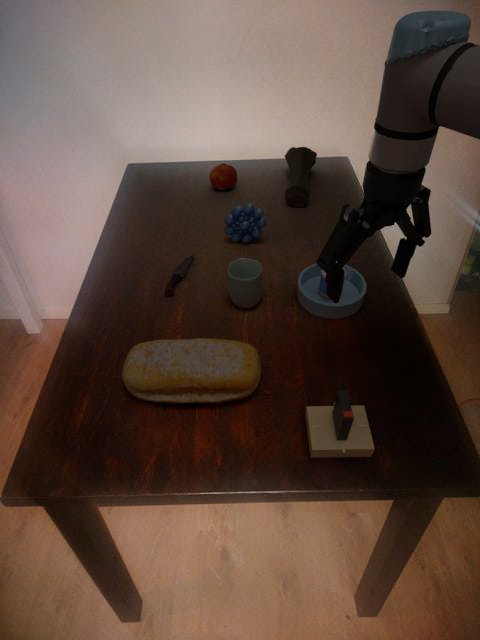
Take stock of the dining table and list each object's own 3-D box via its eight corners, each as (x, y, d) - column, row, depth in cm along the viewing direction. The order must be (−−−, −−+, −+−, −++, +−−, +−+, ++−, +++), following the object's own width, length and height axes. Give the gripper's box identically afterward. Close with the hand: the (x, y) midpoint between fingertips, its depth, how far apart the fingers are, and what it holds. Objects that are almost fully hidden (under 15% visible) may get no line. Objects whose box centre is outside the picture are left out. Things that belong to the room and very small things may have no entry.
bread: (262, 408, 71) (262, 383, 65) (120, 412, 71) (108, 388, 66) (259, 351, 80) (259, 325, 74) (134, 355, 81) (124, 330, 75)
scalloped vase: (293, 172, 140) (290, 221, 123) (280, 148, 133) (275, 197, 116) (321, 159, 134) (322, 209, 118) (309, 133, 128) (308, 182, 111)
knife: (170, 293, 91) (153, 282, 92) (169, 299, 93) (152, 288, 93) (207, 260, 102) (191, 250, 103) (205, 266, 104) (190, 256, 104)
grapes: (267, 234, 110) (267, 195, 101) (266, 248, 105) (266, 208, 96) (227, 233, 111) (224, 195, 102) (224, 247, 106) (220, 208, 97)
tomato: (205, 189, 130) (202, 166, 124) (222, 178, 135) (220, 155, 129) (226, 196, 126) (224, 173, 120) (243, 185, 130) (242, 162, 125)
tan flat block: (360, 411, 69) (363, 401, 67) (372, 460, 63) (376, 452, 61) (304, 412, 70) (306, 402, 67) (310, 461, 63) (312, 453, 61)
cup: (257, 316, 87) (256, 282, 80) (225, 309, 89) (221, 276, 82) (266, 294, 92) (267, 260, 85) (236, 288, 94) (234, 255, 87)
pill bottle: (340, 303, 88) (347, 270, 81) (317, 300, 89) (321, 267, 82) (342, 288, 92) (348, 255, 85) (319, 285, 93) (323, 252, 86)
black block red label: (332, 413, 66) (337, 389, 61) (341, 413, 66) (348, 389, 61) (336, 440, 62) (343, 418, 57) (346, 440, 62) (354, 418, 57)
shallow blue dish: (374, 289, 91) (377, 276, 89) (344, 329, 83) (347, 316, 80) (317, 267, 98) (319, 254, 95) (284, 301, 90) (285, 288, 87)
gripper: (447, 134, 56) (408, 253, 71) (299, 173, 49) (291, 295, 65) (490, 152, 51) (438, 275, 66) (332, 198, 45) (315, 323, 60)
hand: (365, 285), depth 65 cm, fingers open, 13 cm apart
